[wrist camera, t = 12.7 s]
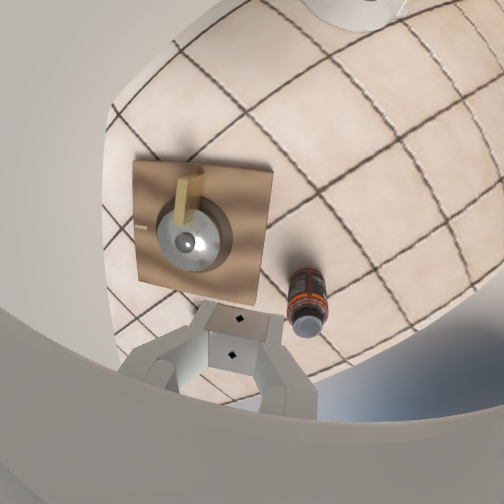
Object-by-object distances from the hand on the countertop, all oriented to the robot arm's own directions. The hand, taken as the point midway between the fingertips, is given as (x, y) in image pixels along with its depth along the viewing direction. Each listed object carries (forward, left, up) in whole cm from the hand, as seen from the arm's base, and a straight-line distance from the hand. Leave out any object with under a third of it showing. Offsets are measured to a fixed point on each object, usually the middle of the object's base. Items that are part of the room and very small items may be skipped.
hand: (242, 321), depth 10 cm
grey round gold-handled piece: (+8, -13, -29) cm, 32 cm away
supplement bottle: (+16, +6, -31) cm, 36 cm away
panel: (+10, -13, -31) cm, 35 cm away
